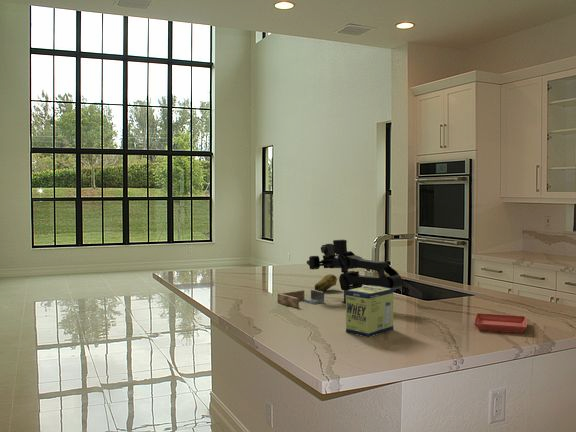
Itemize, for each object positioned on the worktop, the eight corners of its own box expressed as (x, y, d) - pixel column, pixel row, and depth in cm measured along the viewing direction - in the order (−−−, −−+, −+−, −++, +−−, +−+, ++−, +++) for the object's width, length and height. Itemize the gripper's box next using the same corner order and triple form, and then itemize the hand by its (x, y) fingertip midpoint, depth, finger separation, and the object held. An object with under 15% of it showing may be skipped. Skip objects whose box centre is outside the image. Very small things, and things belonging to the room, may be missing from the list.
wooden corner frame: (322, 303, 261) (322, 294, 261) (296, 307, 252) (296, 298, 252) (302, 298, 272) (302, 290, 272) (277, 302, 263) (277, 293, 263)
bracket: (324, 303, 262) (324, 292, 262) (314, 304, 259) (314, 293, 259) (313, 300, 269) (312, 289, 268) (303, 301, 265) (303, 291, 265)
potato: (310, 290, 293) (310, 274, 293) (333, 288, 297) (333, 273, 297) (316, 293, 285) (316, 277, 285) (340, 291, 290) (340, 275, 289)
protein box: (345, 332, 210) (345, 290, 209) (371, 325, 220) (371, 284, 220) (368, 338, 202) (368, 293, 201) (394, 329, 213) (394, 287, 212)
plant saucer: (476, 320, 227) (476, 312, 227) (526, 324, 221) (526, 315, 220) (473, 331, 210) (473, 322, 210) (526, 336, 204) (527, 326, 204)
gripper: (350, 244, 274) (327, 244, 286) (320, 245, 262) (298, 245, 275) (350, 267, 274) (328, 267, 286) (321, 269, 262) (299, 269, 274)
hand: (314, 261), depth 280 cm, fingers open, 9 cm apart
